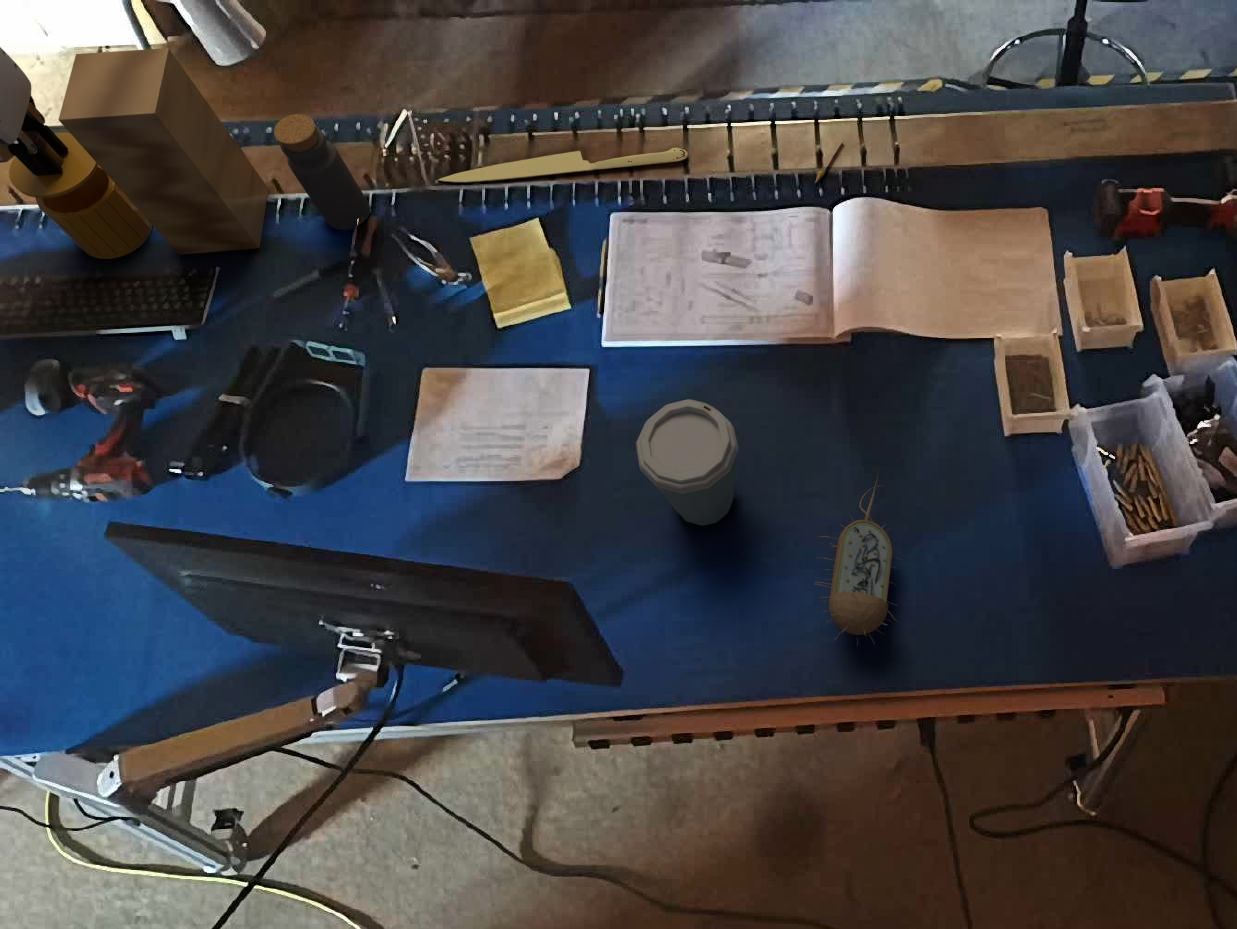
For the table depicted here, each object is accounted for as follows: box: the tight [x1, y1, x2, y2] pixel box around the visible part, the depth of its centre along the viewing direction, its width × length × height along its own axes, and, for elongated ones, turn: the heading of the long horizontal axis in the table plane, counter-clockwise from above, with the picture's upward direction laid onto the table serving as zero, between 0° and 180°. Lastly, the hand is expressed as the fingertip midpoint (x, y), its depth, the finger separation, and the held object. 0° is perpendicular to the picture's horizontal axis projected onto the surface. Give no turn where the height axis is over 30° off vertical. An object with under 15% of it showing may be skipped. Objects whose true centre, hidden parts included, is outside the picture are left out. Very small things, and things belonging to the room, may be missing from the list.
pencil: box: [814, 170, 826, 184], centre depth 145 cm, size 1×9×1 cm, turn 157°
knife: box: [437, 147, 689, 183], centre depth 144 cm, size 1×34×5 cm
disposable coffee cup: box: [635, 398, 739, 526], centre depth 117 cm, size 11×11×15 cm
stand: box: [58, 47, 270, 255], centre depth 128 cm, size 10×10×23 cm
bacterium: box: [815, 467, 903, 647], centre depth 116 cm, size 11×20×10 cm, turn 174°
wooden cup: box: [35, 165, 154, 260], centre depth 134 cm, size 9×9×8 cm
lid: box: [8, 130, 98, 199], centre depth 125 cm, size 10×10×5 cm
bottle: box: [273, 113, 371, 231], centre depth 133 cm, size 6×6×15 cm
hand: (51, 161), depth 126 cm, fingers closed on lid, 2 cm apart
